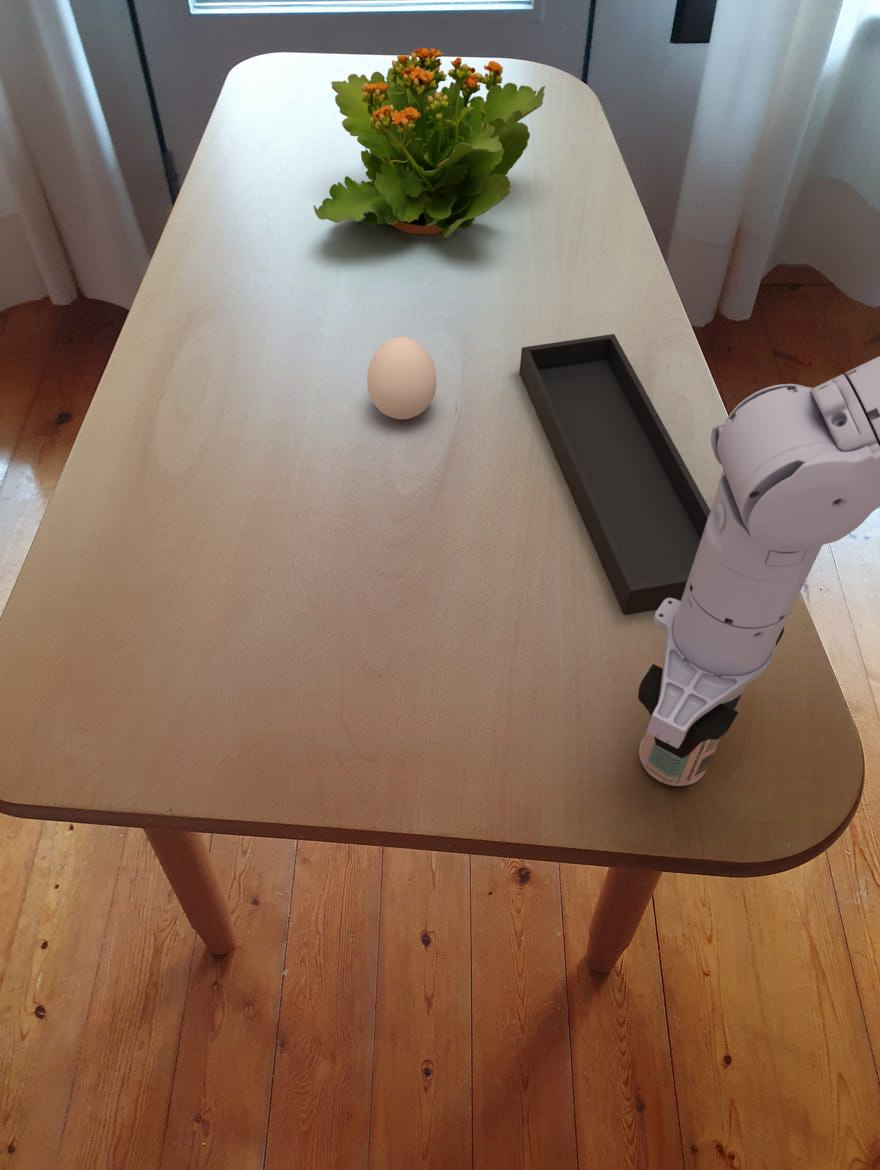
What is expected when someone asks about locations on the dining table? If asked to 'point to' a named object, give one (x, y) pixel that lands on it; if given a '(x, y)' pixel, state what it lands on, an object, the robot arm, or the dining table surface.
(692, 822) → the dining table surface
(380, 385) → the egg
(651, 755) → the beer can
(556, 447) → the baking pan
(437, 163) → the potted flower
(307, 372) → the dining table surface
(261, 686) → the dining table surface
